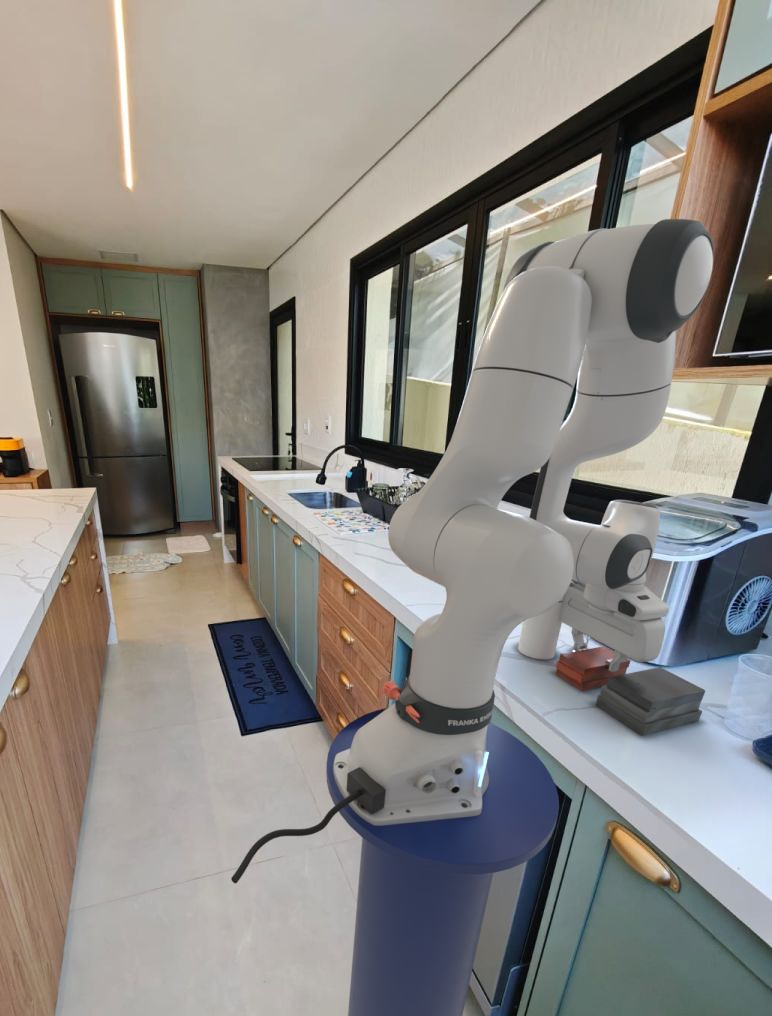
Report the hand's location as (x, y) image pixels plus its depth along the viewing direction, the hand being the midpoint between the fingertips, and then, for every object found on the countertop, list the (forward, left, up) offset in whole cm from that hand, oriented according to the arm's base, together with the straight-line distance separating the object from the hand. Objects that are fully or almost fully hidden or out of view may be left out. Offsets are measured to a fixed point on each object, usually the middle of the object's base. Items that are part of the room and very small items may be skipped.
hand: (594, 660), depth 94 cm
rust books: (0, 0, -4) cm, 4 cm away
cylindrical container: (-2, +12, -4) cm, 13 cm away
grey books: (0, -12, -4) cm, 13 cm away
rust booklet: (0, 0, -1) cm, 1 cm away
